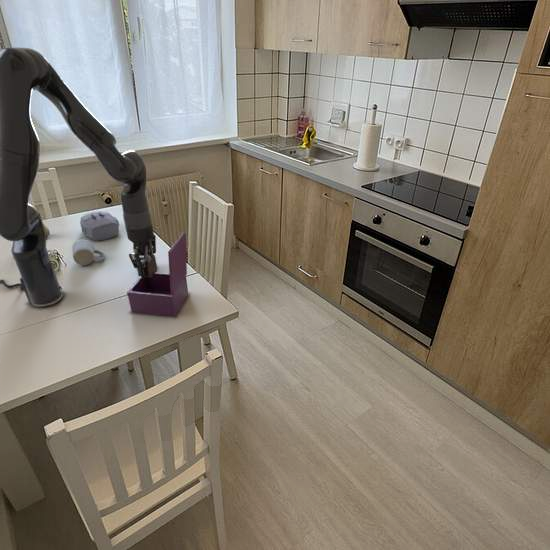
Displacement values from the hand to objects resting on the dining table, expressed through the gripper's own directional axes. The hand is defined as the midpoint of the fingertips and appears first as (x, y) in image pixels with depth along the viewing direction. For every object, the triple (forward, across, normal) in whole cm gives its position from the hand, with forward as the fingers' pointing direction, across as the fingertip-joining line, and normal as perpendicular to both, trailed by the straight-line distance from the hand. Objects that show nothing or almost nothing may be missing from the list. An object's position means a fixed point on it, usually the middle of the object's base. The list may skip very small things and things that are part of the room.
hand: (148, 272), depth 123 cm
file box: (+12, 0, +2) cm, 12 cm away
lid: (-4, 0, +10) cm, 11 cm away
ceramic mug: (+12, -22, -36) cm, 43 cm away
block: (0, 0, 0) cm, 0 cm away
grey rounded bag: (+12, -46, -44) cm, 65 cm away
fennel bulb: (+8, -56, -38) cm, 68 cm away
